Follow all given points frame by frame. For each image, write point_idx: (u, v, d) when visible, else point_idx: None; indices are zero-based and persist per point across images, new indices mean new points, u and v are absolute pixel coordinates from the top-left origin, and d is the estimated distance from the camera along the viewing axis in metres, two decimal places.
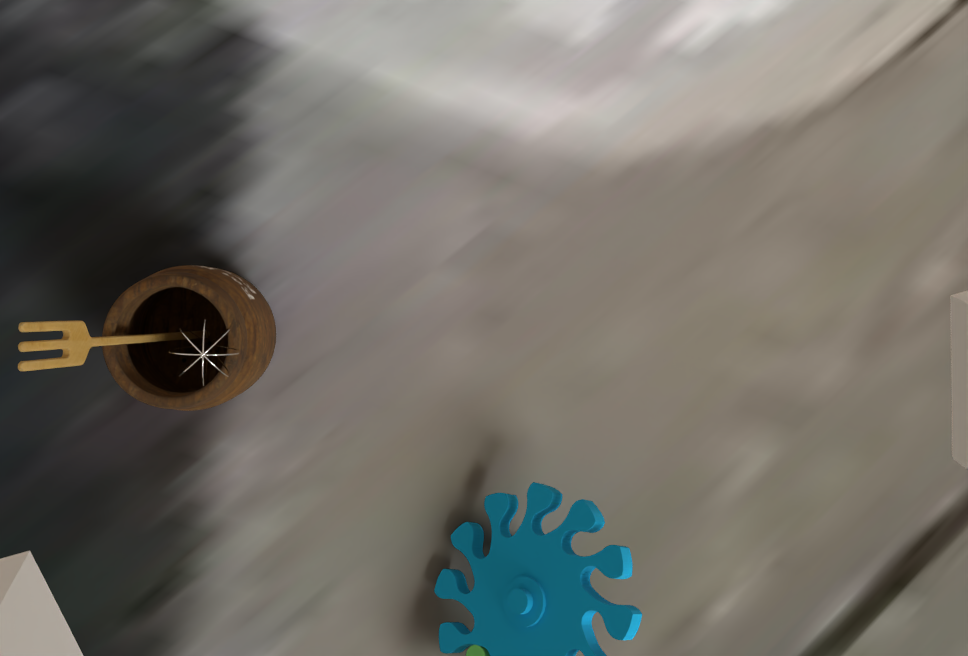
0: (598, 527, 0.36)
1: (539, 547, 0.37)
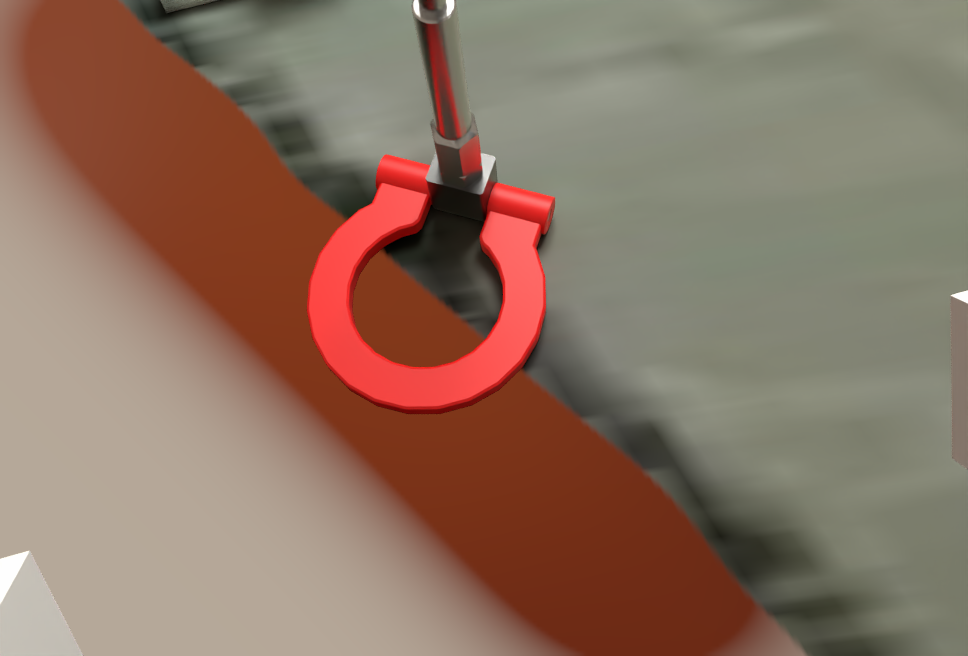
0: None
1: None
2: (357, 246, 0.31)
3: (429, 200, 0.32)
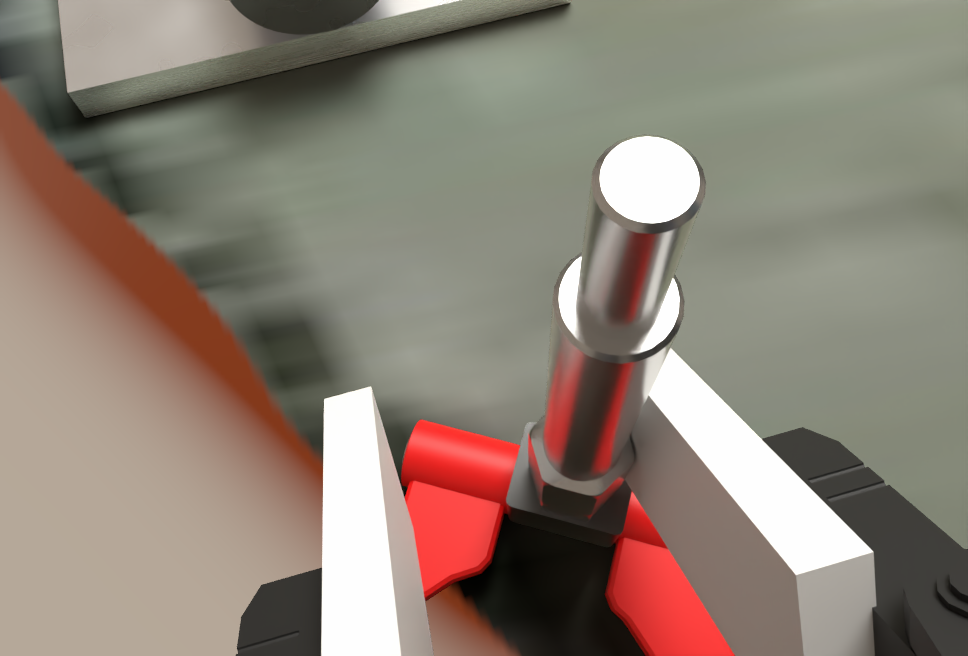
0: None
1: None
2: None
3: (504, 512, 0.17)
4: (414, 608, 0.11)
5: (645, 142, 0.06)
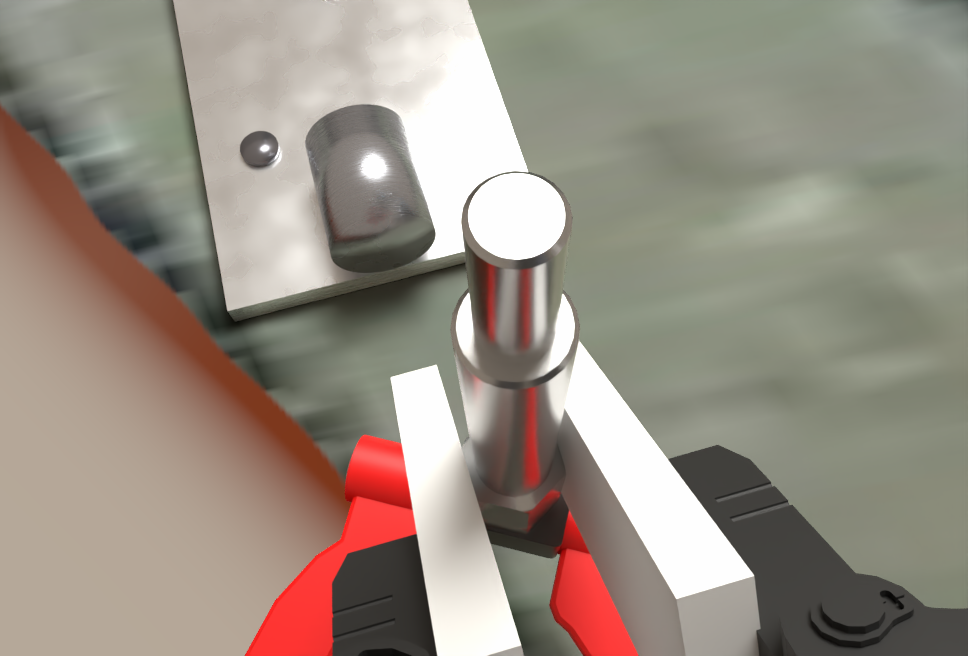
0: None
1: None
2: (318, 637, 0.16)
3: None
4: None
5: (514, 180, 0.06)
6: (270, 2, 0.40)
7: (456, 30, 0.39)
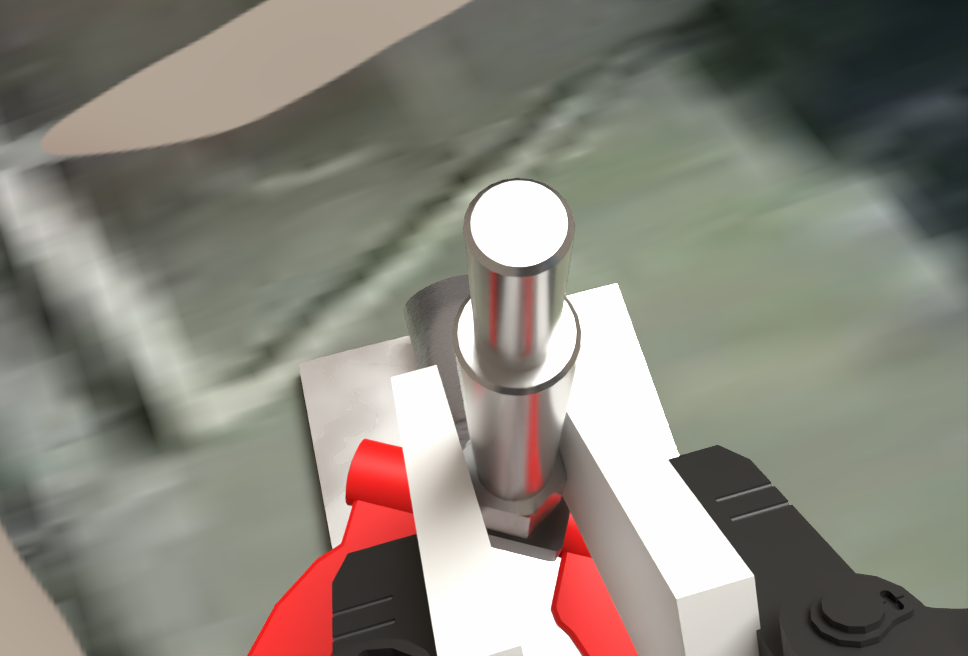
0: None
1: None
2: (318, 641, 0.16)
3: None
4: None
5: (517, 187, 0.06)
6: None
7: None
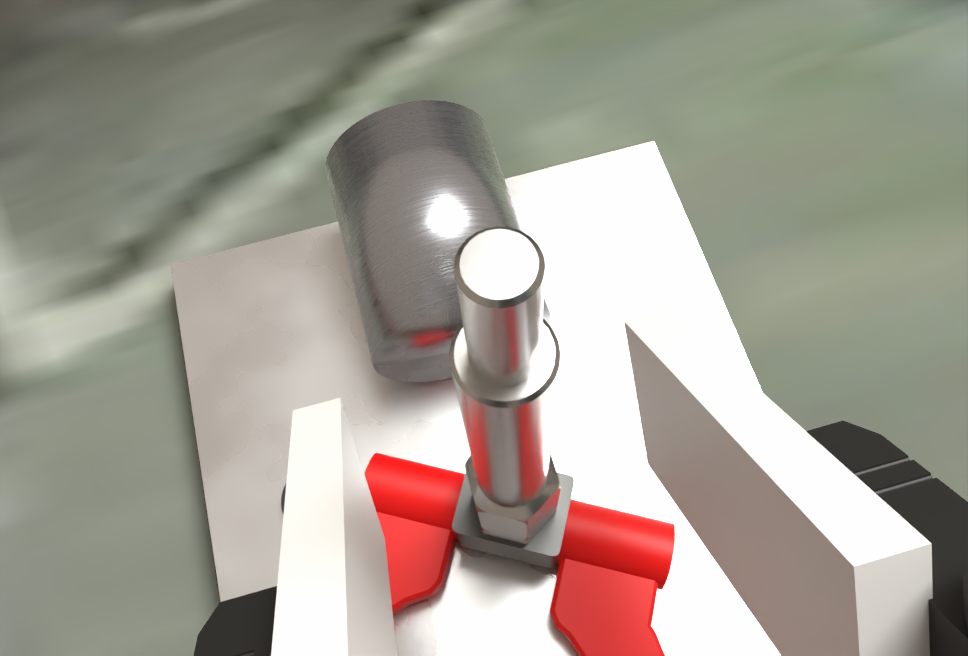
0: None
1: None
2: None
3: (454, 537, 0.18)
4: (375, 625, 0.10)
5: (497, 233, 0.07)
6: None
7: None
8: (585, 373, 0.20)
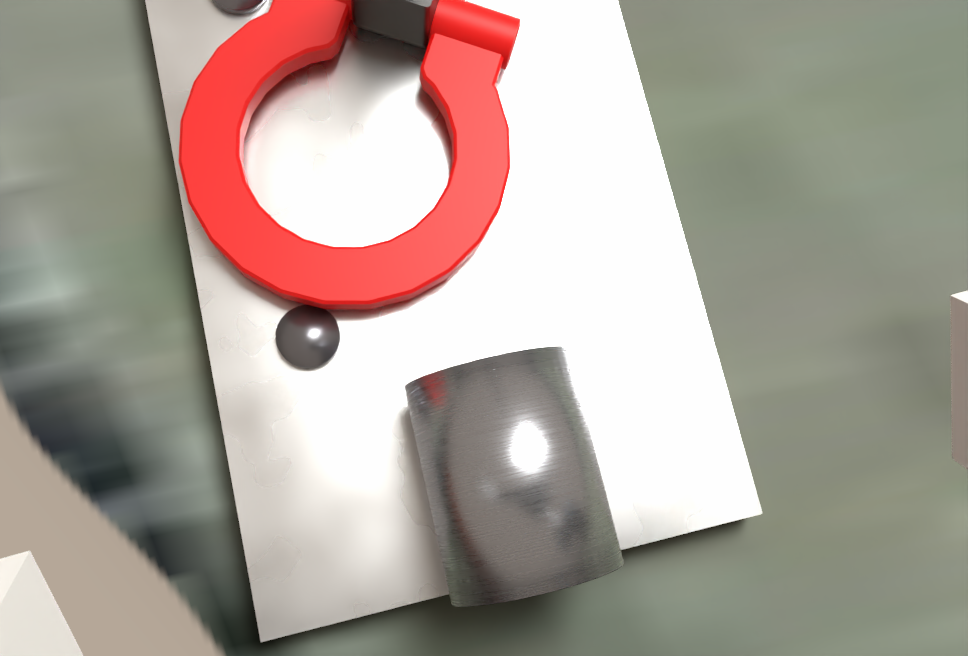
0: None
1: None
2: (249, 73, 0.22)
3: (349, 13, 0.23)
4: None
5: None
6: None
7: (622, 135, 0.24)
8: None
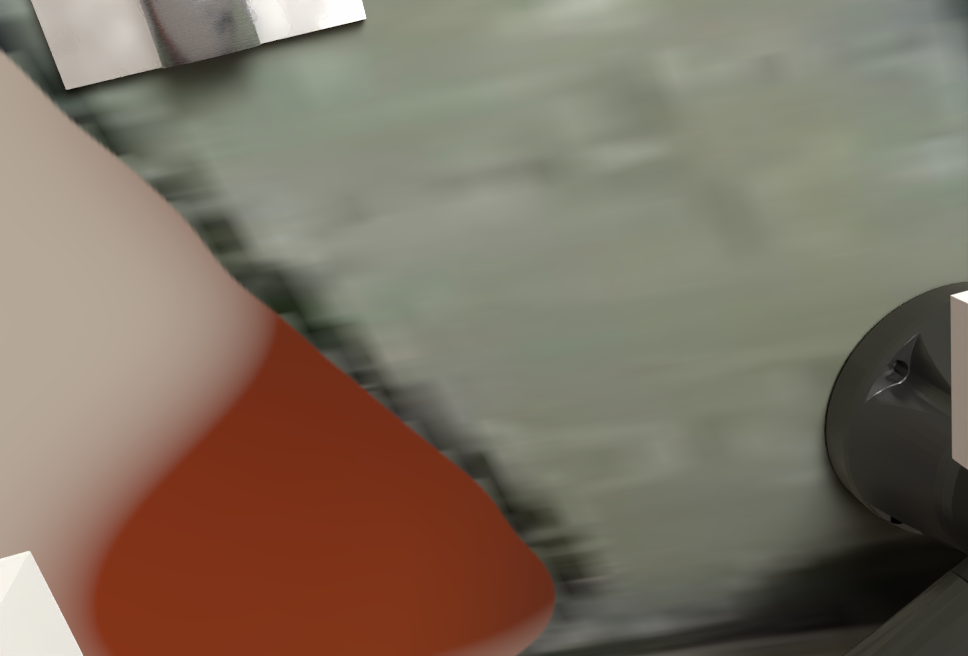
0: None
1: None
2: None
3: None
4: None
5: None
6: None
7: None
8: None
